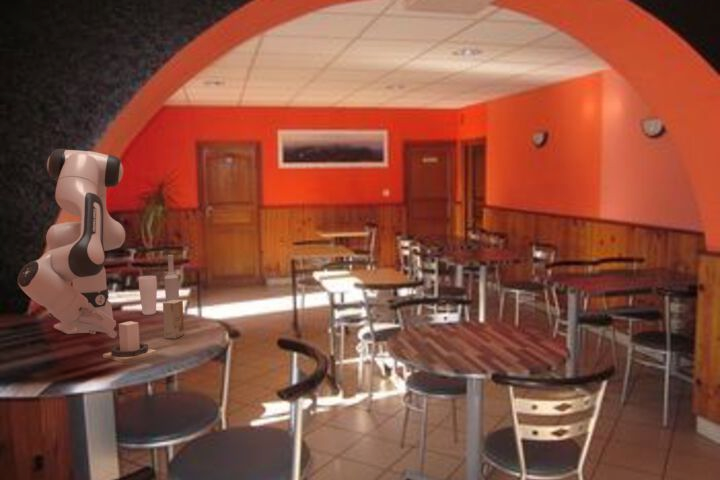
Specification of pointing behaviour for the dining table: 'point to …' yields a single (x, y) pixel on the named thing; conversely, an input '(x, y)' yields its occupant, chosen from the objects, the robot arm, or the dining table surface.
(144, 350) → the board
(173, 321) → the skincare box
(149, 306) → the drinking glass
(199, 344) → the dining table surface
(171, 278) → the bottle
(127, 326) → the carton
